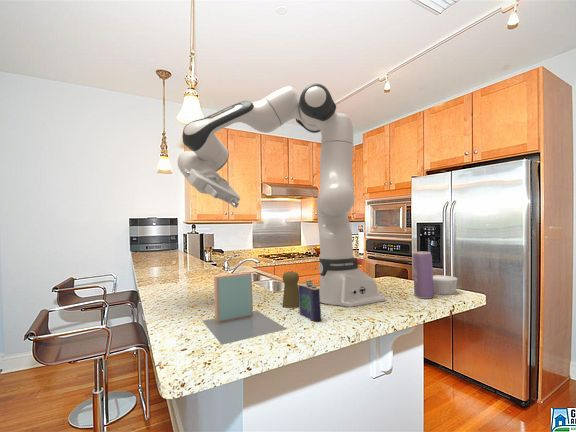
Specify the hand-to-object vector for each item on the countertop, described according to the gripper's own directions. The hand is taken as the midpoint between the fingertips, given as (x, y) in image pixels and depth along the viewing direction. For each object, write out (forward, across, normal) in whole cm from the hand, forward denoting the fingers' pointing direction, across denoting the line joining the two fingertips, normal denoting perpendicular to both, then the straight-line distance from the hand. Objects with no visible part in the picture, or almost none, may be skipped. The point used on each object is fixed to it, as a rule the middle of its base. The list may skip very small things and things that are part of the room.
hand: (226, 200), depth 88 cm
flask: (+41, +11, +10) cm, 43 cm away
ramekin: (+58, +55, -18) cm, 82 cm away
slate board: (+32, -1, +20) cm, 38 cm away
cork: (+31, +19, +14) cm, 39 cm away
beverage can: (+55, +46, -13) cm, 73 cm away
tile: (+27, +2, +23) cm, 35 cm away
